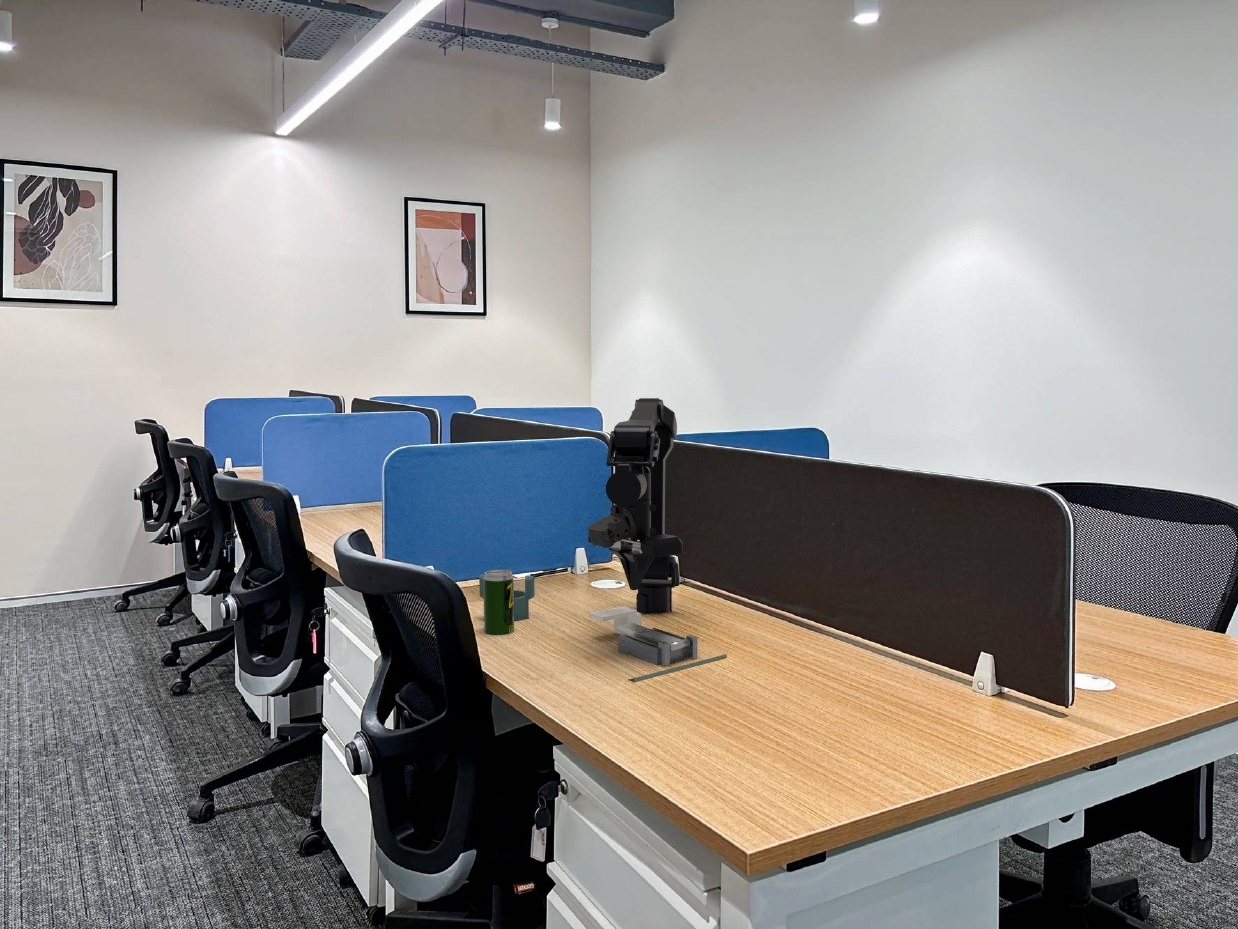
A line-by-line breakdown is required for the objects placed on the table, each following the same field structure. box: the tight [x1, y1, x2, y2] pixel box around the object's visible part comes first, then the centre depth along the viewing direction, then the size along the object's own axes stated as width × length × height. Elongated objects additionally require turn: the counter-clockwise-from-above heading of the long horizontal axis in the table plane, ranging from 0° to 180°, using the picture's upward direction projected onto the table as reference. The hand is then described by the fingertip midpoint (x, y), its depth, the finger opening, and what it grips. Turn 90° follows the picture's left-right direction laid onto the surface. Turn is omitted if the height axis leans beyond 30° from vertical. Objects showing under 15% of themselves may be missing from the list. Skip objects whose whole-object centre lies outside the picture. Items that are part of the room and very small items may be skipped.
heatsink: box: [617, 627, 698, 668], centre depth 154 cm, size 8×11×4 cm
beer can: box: [483, 569, 515, 636], centre depth 168 cm, size 5×5×12 cm
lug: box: [588, 605, 642, 637], centre depth 165 cm, size 8×4×4 cm, turn 128°
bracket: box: [478, 573, 535, 623], centre depth 181 cm, size 9×9×9 cm
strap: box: [617, 622, 690, 652], centre depth 155 cm, size 4×15×1 cm, turn 38°
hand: (634, 589), depth 158 cm, fingers closed
